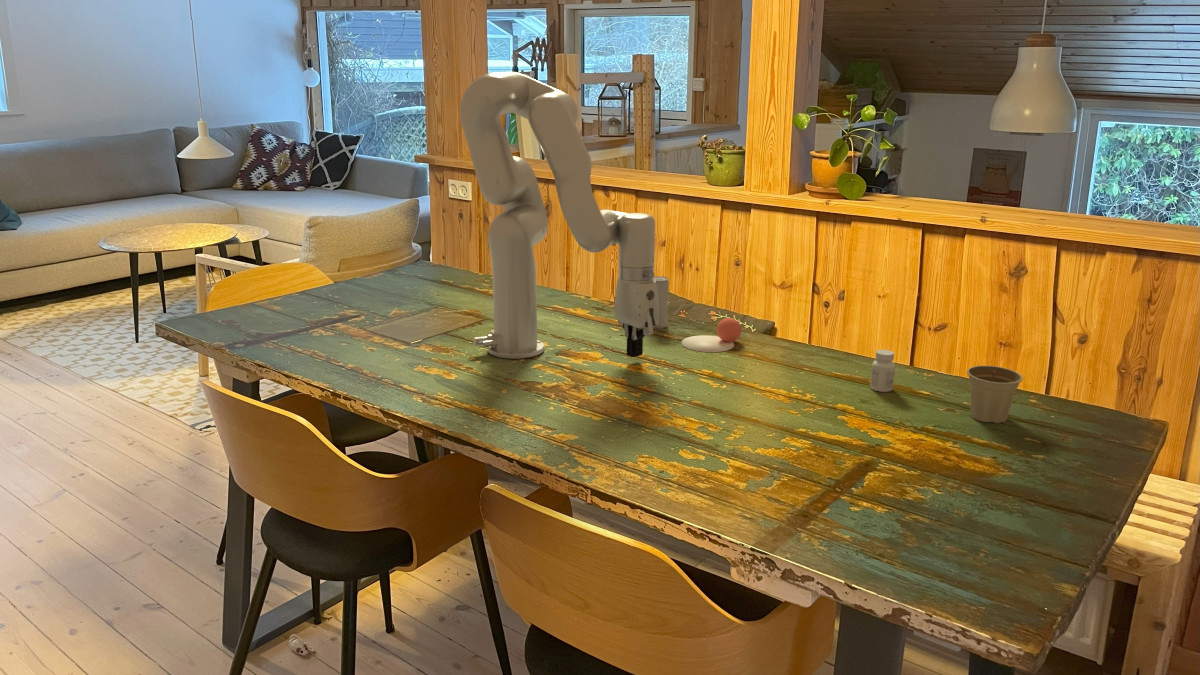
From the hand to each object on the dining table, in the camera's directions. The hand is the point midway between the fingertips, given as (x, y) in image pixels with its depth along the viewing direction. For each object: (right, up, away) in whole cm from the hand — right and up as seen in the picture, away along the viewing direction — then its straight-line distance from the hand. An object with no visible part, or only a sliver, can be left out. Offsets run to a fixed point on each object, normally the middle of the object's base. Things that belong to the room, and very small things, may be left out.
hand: (634, 355), depth 200 cm
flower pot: (+65, -11, -28) cm, 71 cm away
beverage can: (+7, +6, +26) cm, 27 cm away
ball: (+22, +6, +14) cm, 27 cm away
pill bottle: (+49, -7, -14) cm, 52 cm away
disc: (+17, +2, +13) cm, 22 cm away
